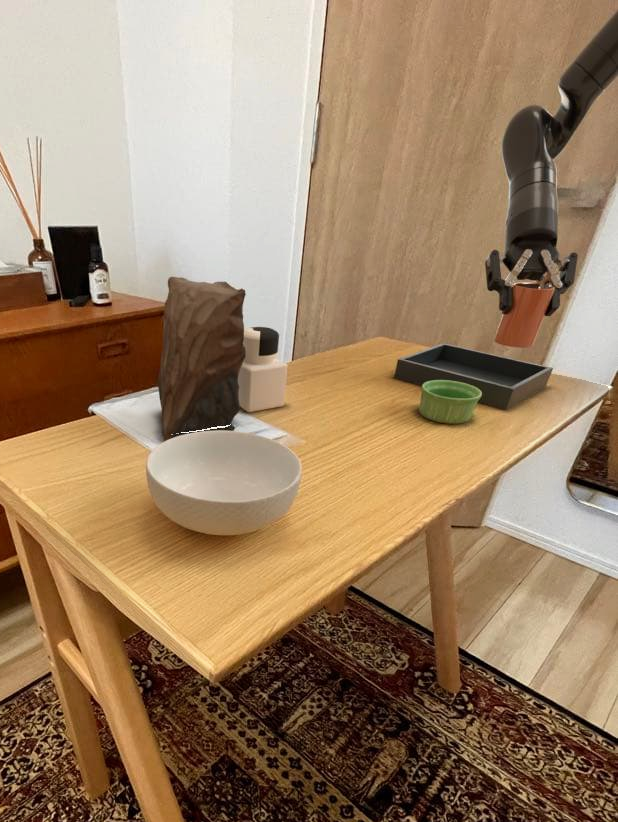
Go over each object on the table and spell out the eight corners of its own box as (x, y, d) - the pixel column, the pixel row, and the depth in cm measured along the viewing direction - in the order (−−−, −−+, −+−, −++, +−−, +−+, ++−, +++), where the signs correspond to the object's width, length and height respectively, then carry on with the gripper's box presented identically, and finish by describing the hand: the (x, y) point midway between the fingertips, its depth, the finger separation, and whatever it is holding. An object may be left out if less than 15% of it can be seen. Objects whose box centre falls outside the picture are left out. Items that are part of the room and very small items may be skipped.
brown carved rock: (159, 409, 82) (151, 274, 70) (234, 407, 83) (239, 274, 71) (160, 441, 72) (152, 291, 60) (245, 438, 73) (253, 290, 61)
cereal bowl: (326, 528, 55) (336, 472, 51) (199, 581, 47) (198, 521, 43) (238, 466, 66) (240, 417, 62) (125, 501, 59) (119, 448, 55)
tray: (438, 360, 106) (443, 343, 104) (545, 387, 93) (553, 367, 91) (393, 377, 96) (397, 359, 94) (505, 410, 83) (513, 389, 81)
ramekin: (482, 415, 81) (491, 389, 79) (459, 431, 76) (467, 403, 74) (430, 400, 86) (437, 375, 84) (405, 414, 81) (412, 388, 79)
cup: (503, 336, 90) (522, 280, 84) (538, 343, 86) (561, 286, 81) (487, 341, 86) (506, 284, 81) (524, 349, 83) (547, 290, 77)
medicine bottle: (263, 393, 89) (268, 322, 82) (284, 406, 84) (291, 332, 76) (228, 399, 86) (230, 326, 79) (247, 413, 81) (252, 337, 74)
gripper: (497, 203, 81) (494, 296, 79) (590, 205, 80) (590, 300, 77) (477, 237, 89) (474, 323, 86) (562, 240, 87) (561, 327, 85)
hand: (528, 312), depth 82 cm, fingers closed on cup, 6 cm apart
